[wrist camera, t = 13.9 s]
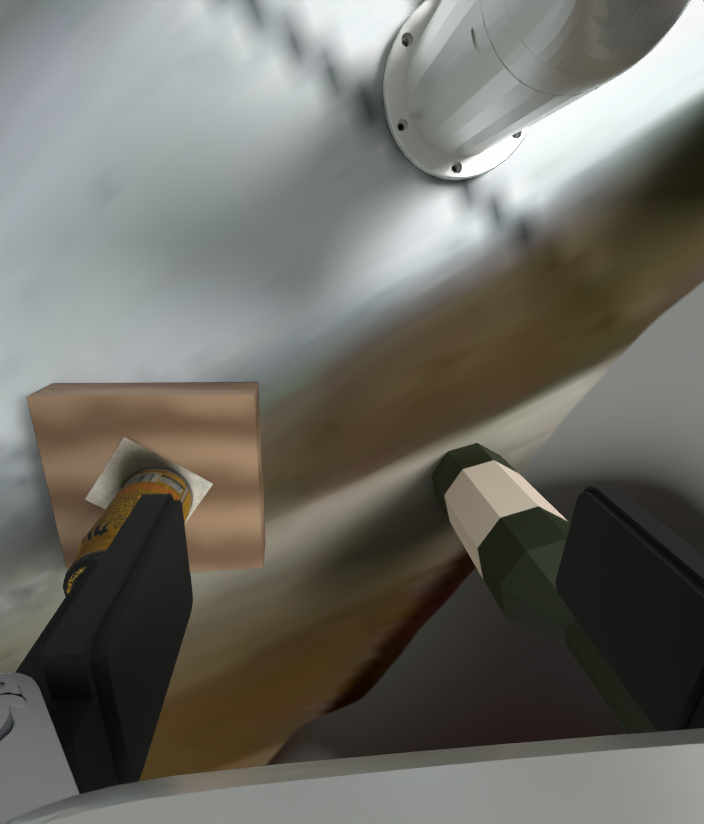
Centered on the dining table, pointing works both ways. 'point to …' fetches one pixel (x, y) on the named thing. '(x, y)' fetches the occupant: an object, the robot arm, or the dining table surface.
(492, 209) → the dining table surface
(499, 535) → the wine bottle
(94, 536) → the condiment
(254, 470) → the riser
